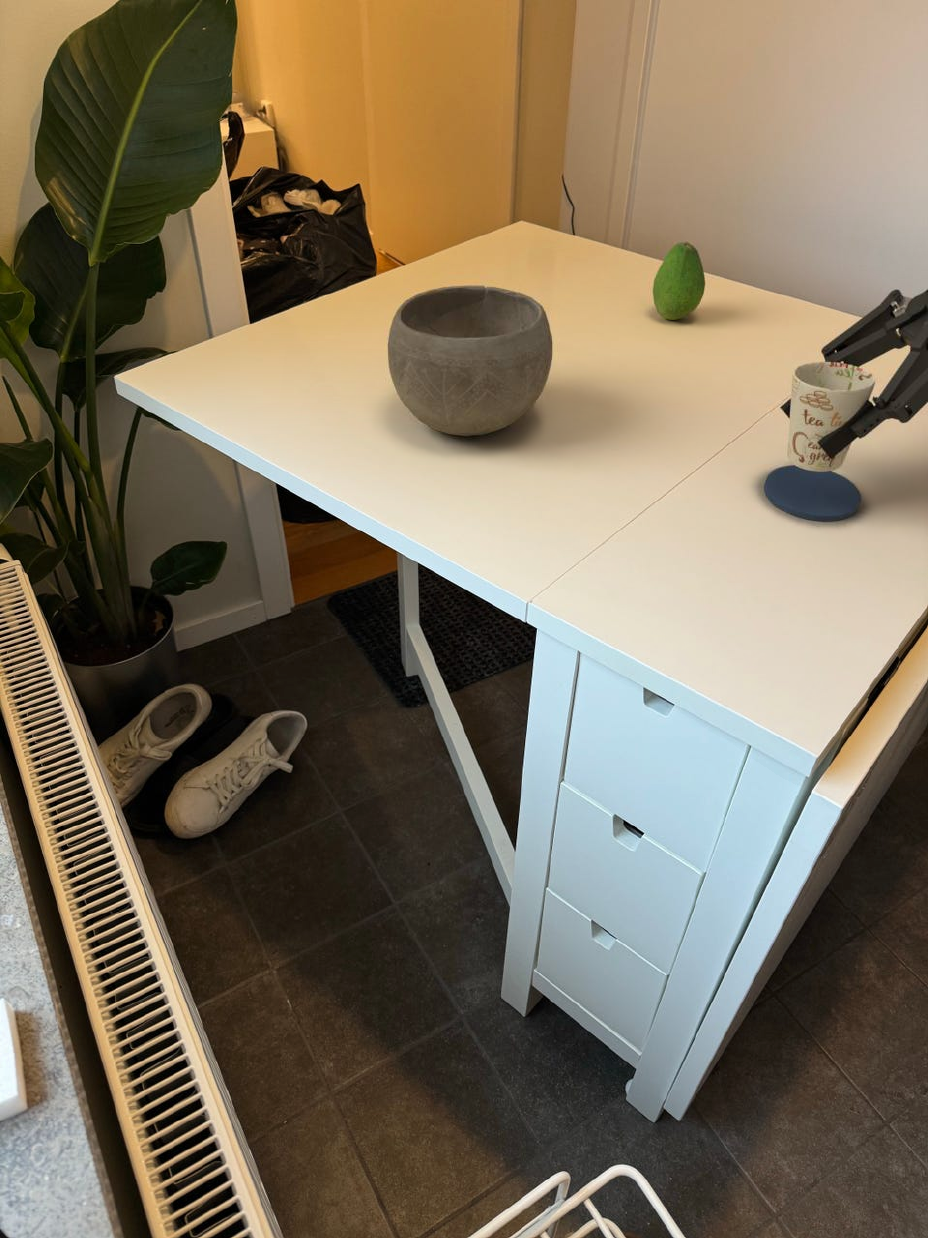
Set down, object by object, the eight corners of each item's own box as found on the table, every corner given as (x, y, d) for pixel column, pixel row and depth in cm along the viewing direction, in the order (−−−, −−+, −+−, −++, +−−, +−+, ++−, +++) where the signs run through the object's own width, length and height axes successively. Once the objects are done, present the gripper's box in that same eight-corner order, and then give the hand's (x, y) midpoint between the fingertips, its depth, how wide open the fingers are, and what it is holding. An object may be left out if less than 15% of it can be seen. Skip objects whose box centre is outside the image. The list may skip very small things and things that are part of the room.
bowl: (387, 384, 126) (383, 278, 116) (533, 380, 127) (541, 275, 117) (393, 463, 110) (389, 347, 100) (559, 457, 112) (571, 343, 102)
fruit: (699, 311, 147) (713, 236, 139) (697, 330, 141) (712, 253, 134) (650, 305, 149) (662, 231, 141) (646, 324, 143) (658, 248, 135)
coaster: (879, 505, 105) (881, 500, 104) (811, 531, 101) (813, 525, 100) (810, 462, 112) (812, 456, 112) (744, 484, 108) (745, 478, 107)
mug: (762, 460, 102) (778, 376, 96) (819, 427, 109) (837, 346, 103) (829, 484, 97) (851, 397, 91) (884, 447, 104) (908, 364, 98)
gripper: (1068, 340, 87) (869, 498, 95) (938, 266, 102) (775, 408, 110) (1046, 290, 83) (840, 461, 90) (914, 220, 97) (746, 372, 105)
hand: (805, 432), depth 100 cm, fingers closed on mug, 7 cm apart
